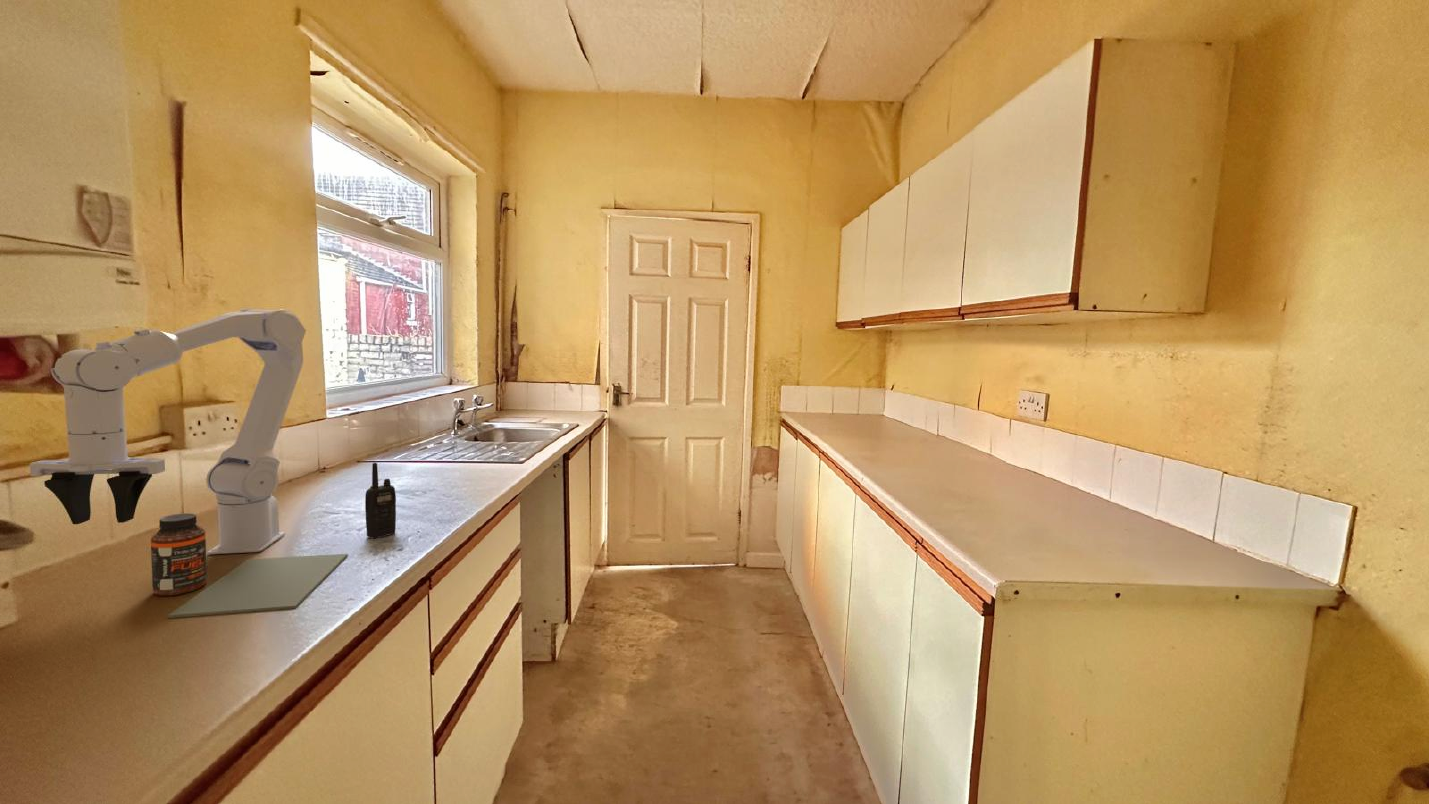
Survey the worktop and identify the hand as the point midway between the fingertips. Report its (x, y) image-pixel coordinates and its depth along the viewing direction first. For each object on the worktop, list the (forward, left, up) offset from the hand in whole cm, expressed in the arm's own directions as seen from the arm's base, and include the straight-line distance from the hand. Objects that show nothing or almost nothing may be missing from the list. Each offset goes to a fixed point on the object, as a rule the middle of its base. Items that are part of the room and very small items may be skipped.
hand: (103, 521), depth 81 cm
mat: (+2, +22, -10) cm, 24 cm away
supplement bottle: (+2, +10, -11) cm, 15 cm away
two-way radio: (-19, +31, -11) cm, 38 cm away
